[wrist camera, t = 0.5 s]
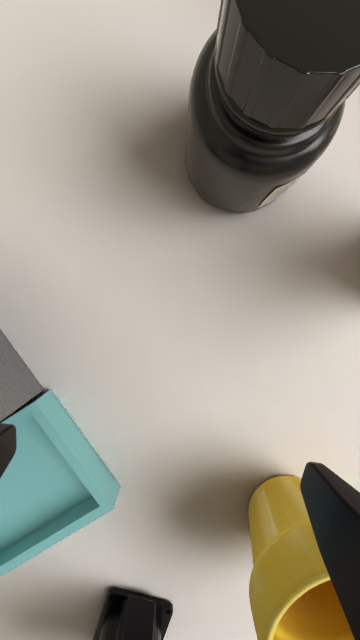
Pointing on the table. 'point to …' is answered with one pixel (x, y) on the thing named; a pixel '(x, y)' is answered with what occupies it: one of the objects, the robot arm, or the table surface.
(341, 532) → the robot arm
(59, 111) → the table surface
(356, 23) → the ink bottle
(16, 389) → the grey tray
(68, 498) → the teal tray
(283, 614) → the plant pot
